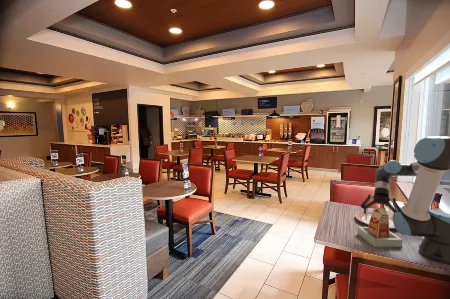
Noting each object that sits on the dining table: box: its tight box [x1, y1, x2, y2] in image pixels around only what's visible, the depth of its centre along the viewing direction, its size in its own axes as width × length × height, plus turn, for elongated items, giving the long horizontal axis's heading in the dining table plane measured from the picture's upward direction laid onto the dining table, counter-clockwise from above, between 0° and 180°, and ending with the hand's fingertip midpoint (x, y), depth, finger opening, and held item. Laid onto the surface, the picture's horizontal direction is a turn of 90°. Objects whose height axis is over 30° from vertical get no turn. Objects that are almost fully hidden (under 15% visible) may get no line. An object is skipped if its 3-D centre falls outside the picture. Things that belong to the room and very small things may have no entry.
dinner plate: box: [354, 210, 396, 230], centre depth 158 cm, size 27×27×3 cm
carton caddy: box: [357, 226, 404, 249], centre depth 134 cm, size 16×16×5 cm
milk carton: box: [367, 206, 391, 238], centre depth 133 cm, size 9×9×20 cm
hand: (380, 222), depth 131 cm, fingers open, 13 cm apart
